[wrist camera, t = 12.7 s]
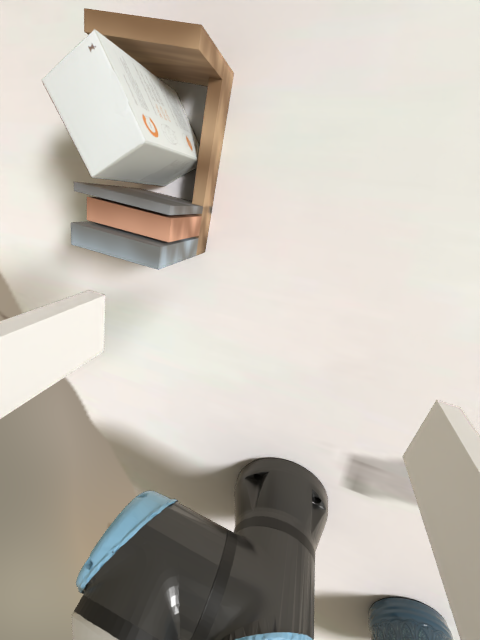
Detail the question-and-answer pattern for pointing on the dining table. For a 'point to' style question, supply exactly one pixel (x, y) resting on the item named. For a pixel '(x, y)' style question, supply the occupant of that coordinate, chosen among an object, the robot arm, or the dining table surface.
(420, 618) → the canister
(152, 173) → the small box
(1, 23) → the dining table surface
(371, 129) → the dining table surface
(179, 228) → the book rack
